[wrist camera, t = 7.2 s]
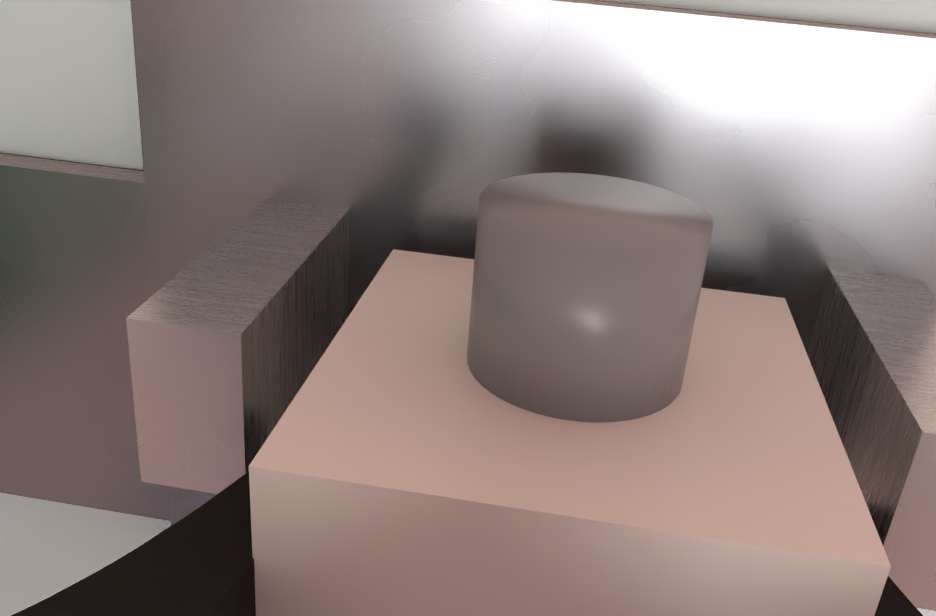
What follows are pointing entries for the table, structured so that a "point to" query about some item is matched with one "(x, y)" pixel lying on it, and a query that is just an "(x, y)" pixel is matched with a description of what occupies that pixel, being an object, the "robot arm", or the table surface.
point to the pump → (563, 434)
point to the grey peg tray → (454, 219)
